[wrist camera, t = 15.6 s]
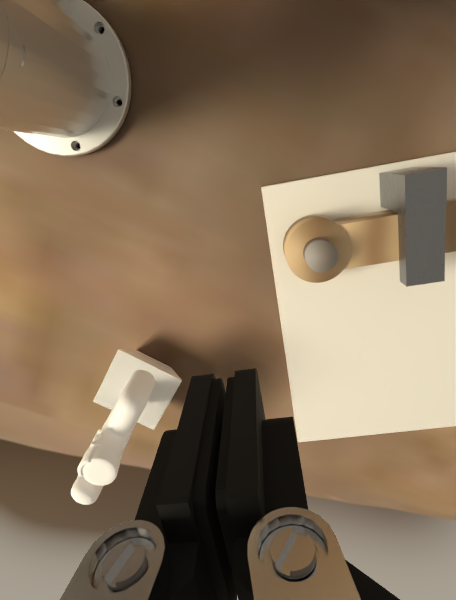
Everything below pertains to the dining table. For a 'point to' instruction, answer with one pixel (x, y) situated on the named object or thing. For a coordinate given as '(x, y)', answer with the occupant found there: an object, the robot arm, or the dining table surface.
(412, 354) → the pivot board
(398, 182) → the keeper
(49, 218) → the dining table surface
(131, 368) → the figurine
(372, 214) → the oak link
